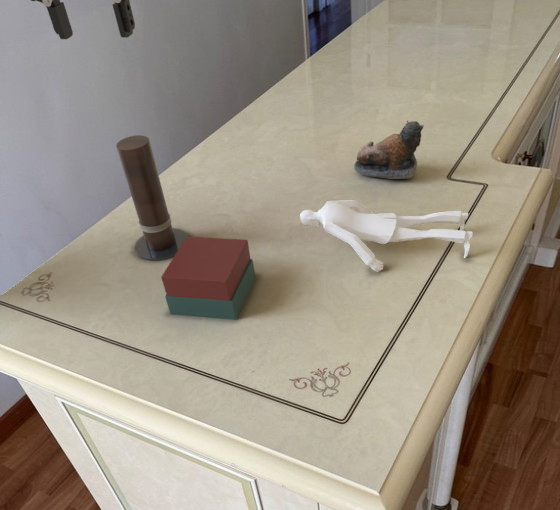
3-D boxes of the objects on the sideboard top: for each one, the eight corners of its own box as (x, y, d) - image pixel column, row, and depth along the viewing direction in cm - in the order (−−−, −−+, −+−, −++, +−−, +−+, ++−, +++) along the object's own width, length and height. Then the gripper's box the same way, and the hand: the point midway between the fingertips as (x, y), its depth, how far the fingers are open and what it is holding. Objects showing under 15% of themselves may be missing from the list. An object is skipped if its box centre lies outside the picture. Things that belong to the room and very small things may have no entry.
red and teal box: (194, 273, 91) (184, 236, 86) (255, 277, 88) (249, 239, 84) (170, 314, 84) (158, 276, 80) (236, 320, 82) (228, 281, 77)
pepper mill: (159, 163, 99) (111, 126, 84) (187, 163, 98) (144, 126, 83) (150, 254, 99) (101, 233, 85) (178, 255, 98) (133, 235, 83)
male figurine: (454, 232, 95) (301, 217, 96) (465, 197, 91) (304, 181, 91) (464, 283, 85) (294, 265, 86) (477, 247, 81) (297, 229, 82)
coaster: (124, 253, 97) (123, 250, 97) (160, 226, 102) (160, 223, 102) (164, 267, 93) (163, 264, 93) (200, 238, 98) (199, 235, 98)
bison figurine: (349, 180, 107) (348, 124, 100) (363, 162, 111) (363, 108, 104) (413, 189, 102) (416, 132, 95) (425, 170, 106) (430, 114, 99)
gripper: (-28, -120, 62) (33, 48, 73) (92, -133, 59) (136, 45, 70) (11, -129, 67) (62, 29, 78) (123, -142, 64) (159, 25, 75)
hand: (97, 36), depth 74 cm, fingers open, 8 cm apart
